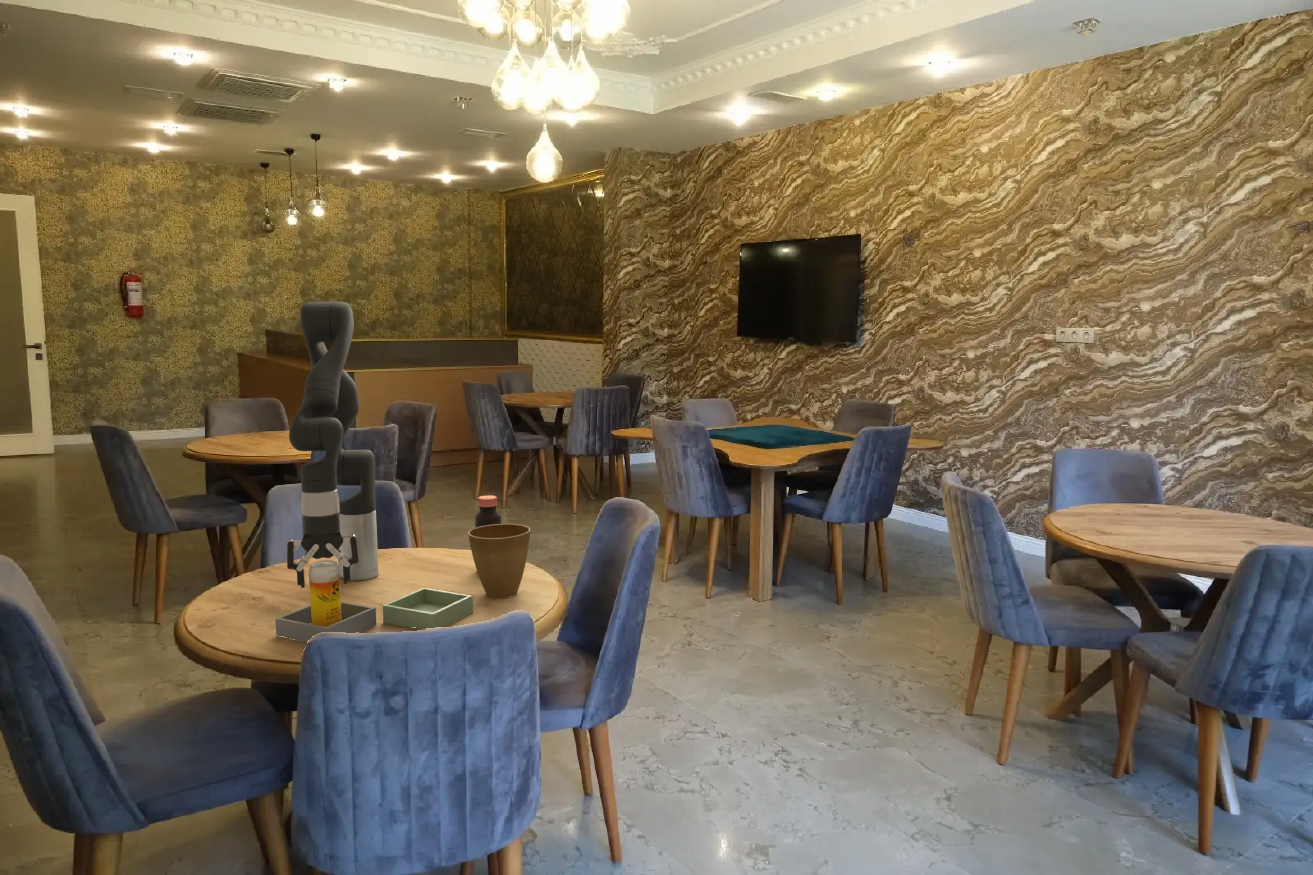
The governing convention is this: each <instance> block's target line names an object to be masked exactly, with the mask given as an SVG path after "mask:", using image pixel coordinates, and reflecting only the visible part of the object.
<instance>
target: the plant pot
mask: <svg viewBox="0 0 1313 875" xmlns="http://www.w3.org/2000/svg"><path fill="white" fill-rule="evenodd" d="M467 535H468V540H469V545H470V550H471V554H472V559H473V563H474V566H475V570H476V571H477V574H478V577H479V580H480V584H481V585H482V587H483V591H484V593H485V594H486V596H487V597H489V598H490V599H491V598H492V599H506V598H507V597H508V598H511V597H510V596H512V597H514V596H516V595H517V594H518V591H519V588H520V585H521V582H522V579H523V575H524V571H525V568H526V562H527V557H528V554H529V552H528V551H529V547H530V546H529V545H530V540H531V539H530V538H531V528H530V527H529V526H527V525H523V524H517V523H501V524H494V525H486V526H481V527H477V528H471V529H470V530H469V531H467ZM513 595H514V596H513Z"/></svg>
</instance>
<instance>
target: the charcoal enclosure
mask: <svg viewBox="0 0 1313 875" xmlns="http://www.w3.org/2000/svg"><path fill="white" fill-rule="evenodd" d="M341 616H342V621H340V622H337V623H335V624H332V625H330V626H328V627H323V626H318V625H313V624H310V623H312V618H311V604H310V605H307V606H304V607H301V608H299V609H296V610H294V611H291V612H289V613H286V614H284V615H281V616H278V617H276V618H275V635H278V636H284V637H287V638H291V639H295V640H297V641H296V642H300V641H302V642H301V643H304V642H305V644H308V643H307V641H308V640H310V639H311V638H312V636H314V635H316V634H318V633H321V632H346V633H356V632H360V633H362V632H365V631H367V630H368V629H371V628H374V627H375V626H377V608H376V607H374V606H368V605H363V604H362V605H361V604H358V603H352V602H346V601H341ZM364 630H365V631H364ZM295 640H294V641H295Z"/></svg>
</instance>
